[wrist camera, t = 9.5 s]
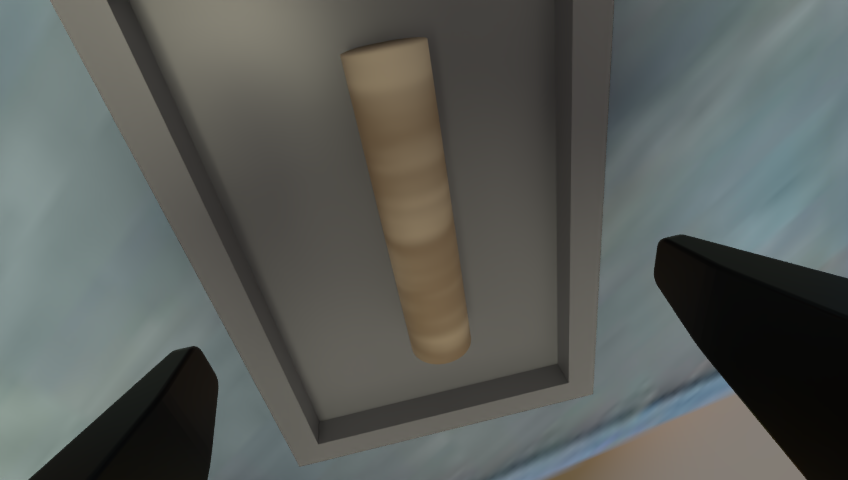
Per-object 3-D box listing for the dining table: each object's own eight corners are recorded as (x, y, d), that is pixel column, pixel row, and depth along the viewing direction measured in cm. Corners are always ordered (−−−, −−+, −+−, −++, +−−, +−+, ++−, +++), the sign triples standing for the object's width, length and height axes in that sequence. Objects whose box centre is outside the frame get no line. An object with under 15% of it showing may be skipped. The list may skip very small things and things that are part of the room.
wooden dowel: (480, 355, 18) (547, 122, 9) (428, 383, 17) (449, 158, 8) (405, 247, 21) (403, 5, 12) (360, 266, 20) (324, 21, 12)
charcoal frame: (573, 363, 22) (592, 394, 21) (303, 428, 22) (299, 466, 20) (583, -143, 12) (623, -165, 10) (69, -50, 11) (19, -57, 10)
